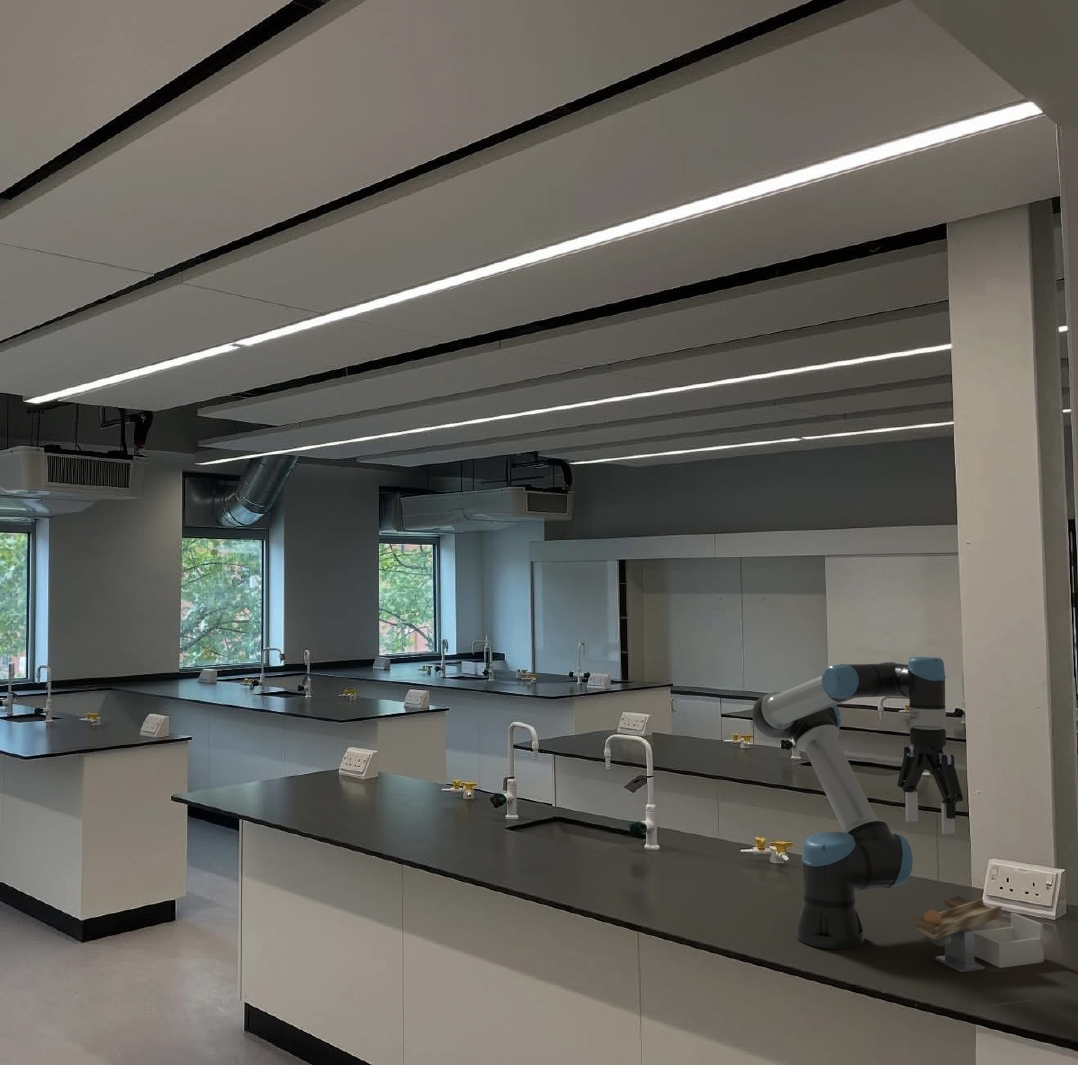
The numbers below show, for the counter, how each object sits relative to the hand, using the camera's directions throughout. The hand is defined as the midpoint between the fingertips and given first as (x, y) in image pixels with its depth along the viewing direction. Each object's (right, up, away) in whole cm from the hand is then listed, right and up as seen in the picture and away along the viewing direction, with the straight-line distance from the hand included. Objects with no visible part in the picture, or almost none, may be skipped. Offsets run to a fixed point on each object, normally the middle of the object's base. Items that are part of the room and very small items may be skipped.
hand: (929, 827), depth 225 cm
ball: (-2, -17, -7) cm, 19 cm away
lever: (+4, -21, -2) cm, 22 cm away
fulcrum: (+4, -28, -6) cm, 29 cm away
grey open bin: (+16, -28, -2) cm, 32 cm away
